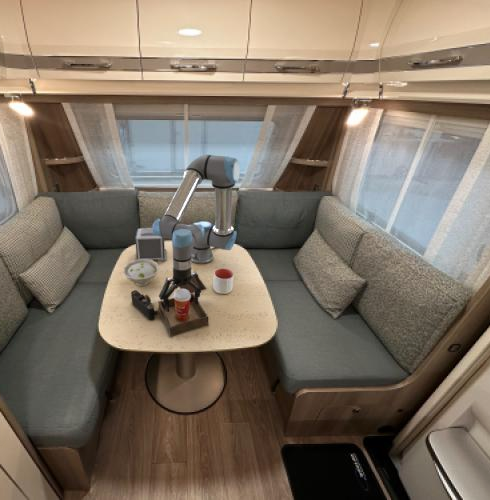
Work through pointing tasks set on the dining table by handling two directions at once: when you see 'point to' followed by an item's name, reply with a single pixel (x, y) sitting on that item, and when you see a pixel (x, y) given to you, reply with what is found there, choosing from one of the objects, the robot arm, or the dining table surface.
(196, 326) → the wooden tray
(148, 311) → the camera
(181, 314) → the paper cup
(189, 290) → the coaster mat
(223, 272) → the cup
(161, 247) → the grey speaker box
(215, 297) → the dining table surface
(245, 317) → the dining table surface
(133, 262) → the bowl
